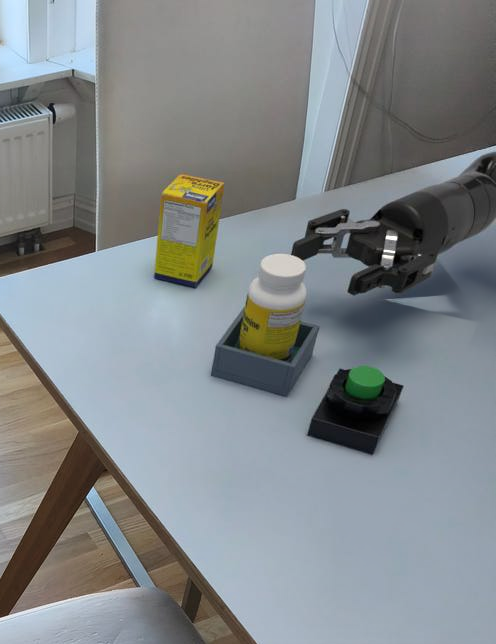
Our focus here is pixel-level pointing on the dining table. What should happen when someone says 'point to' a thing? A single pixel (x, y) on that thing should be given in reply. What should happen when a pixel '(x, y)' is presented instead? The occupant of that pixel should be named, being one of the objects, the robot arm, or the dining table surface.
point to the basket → (262, 360)
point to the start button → (364, 382)
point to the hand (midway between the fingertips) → (322, 269)
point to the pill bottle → (274, 308)
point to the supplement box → (188, 229)
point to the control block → (354, 415)
